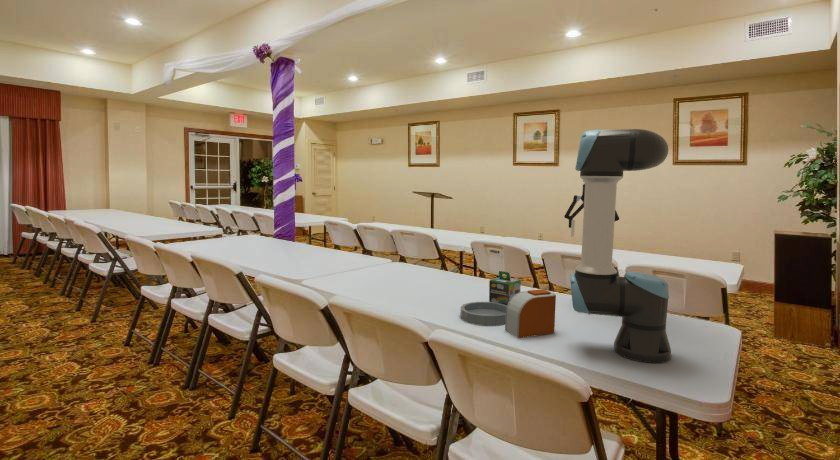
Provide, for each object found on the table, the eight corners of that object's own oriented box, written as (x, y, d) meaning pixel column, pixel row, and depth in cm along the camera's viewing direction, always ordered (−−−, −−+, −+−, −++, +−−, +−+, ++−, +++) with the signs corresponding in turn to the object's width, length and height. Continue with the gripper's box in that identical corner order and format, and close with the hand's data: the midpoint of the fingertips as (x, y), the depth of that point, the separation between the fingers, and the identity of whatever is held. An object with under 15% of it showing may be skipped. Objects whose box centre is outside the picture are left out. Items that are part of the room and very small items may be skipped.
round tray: (506, 328, 157) (507, 318, 157) (454, 321, 164) (455, 312, 163) (515, 313, 175) (515, 304, 174) (467, 308, 181) (468, 299, 181)
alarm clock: (541, 325, 161) (543, 287, 160) (556, 333, 153) (558, 293, 152) (504, 330, 156) (505, 290, 154) (518, 338, 148) (520, 296, 146)
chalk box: (520, 308, 182) (522, 271, 180) (508, 313, 175) (509, 274, 174) (500, 303, 188) (501, 267, 187) (487, 308, 181) (489, 271, 180)
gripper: (628, 183, 178) (625, 238, 181) (562, 182, 190) (559, 234, 192) (627, 183, 172) (623, 240, 174) (558, 182, 183) (556, 236, 186)
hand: (590, 237), depth 183 cm, fingers open, 13 cm apart
